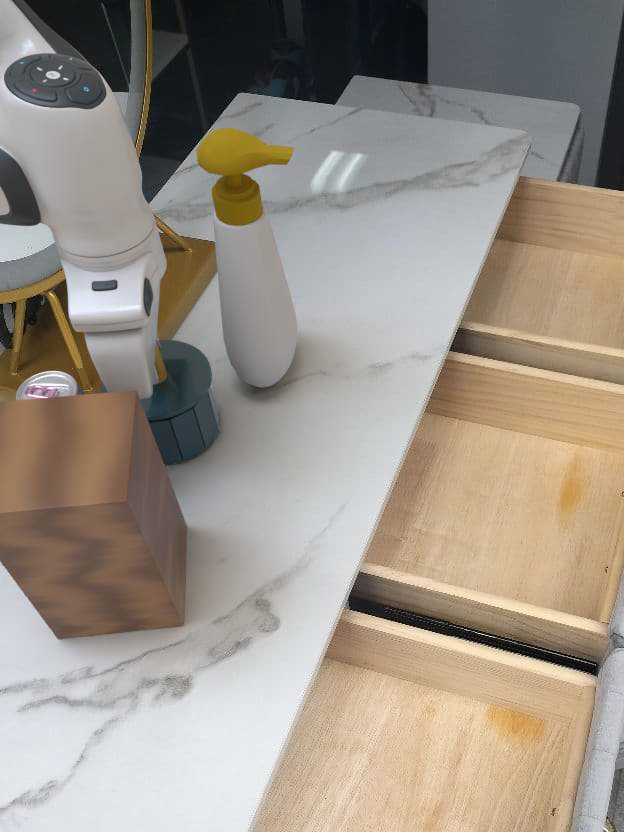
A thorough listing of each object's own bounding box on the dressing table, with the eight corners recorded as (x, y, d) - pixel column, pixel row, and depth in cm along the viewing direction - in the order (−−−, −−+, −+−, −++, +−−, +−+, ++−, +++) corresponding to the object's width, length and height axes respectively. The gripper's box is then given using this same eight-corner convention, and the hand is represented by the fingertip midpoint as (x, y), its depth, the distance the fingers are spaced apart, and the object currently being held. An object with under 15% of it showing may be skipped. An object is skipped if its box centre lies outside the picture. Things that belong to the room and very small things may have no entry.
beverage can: (81, 465, 90) (30, 365, 78) (132, 473, 90) (89, 373, 78) (58, 507, 87) (2, 409, 75) (111, 516, 87) (63, 419, 74)
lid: (97, 425, 84) (81, 389, 79) (106, 348, 90) (92, 311, 86) (211, 415, 84) (201, 379, 80) (212, 339, 91) (203, 302, 87)
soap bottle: (311, 406, 96) (282, 174, 72) (224, 402, 96) (165, 170, 72) (323, 332, 103) (300, 99, 79) (241, 328, 103) (194, 95, 79)
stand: (57, 639, 78) (-35, 516, 62) (70, 537, 85) (-9, 401, 69) (183, 626, 79) (126, 501, 63) (187, 526, 86) (136, 389, 69)
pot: (122, 469, 90) (103, 425, 84) (129, 400, 96) (112, 355, 90) (219, 460, 91) (207, 417, 85) (219, 392, 97) (208, 347, 91)
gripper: (89, 191, 80) (128, 304, 91) (66, 331, 68) (113, 441, 80) (154, 186, 80) (185, 300, 92) (142, 325, 69) (179, 435, 80)
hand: (152, 367), depth 86 cm, fingers closed on lid, 2 cm apart
